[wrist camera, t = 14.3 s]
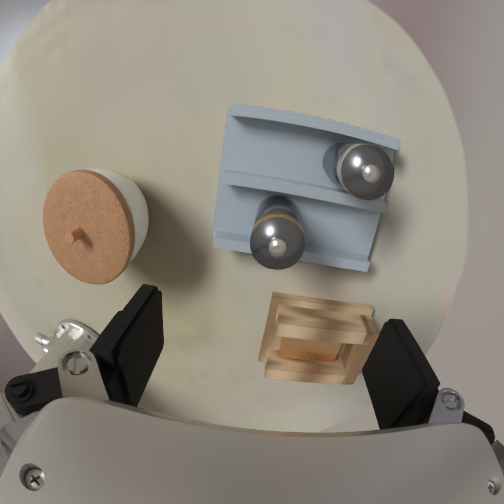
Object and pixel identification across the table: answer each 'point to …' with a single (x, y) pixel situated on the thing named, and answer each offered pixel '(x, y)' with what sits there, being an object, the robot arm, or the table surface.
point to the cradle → (317, 338)
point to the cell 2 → (359, 169)
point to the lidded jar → (95, 223)
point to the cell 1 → (277, 234)
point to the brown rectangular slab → (308, 349)
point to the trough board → (294, 183)
